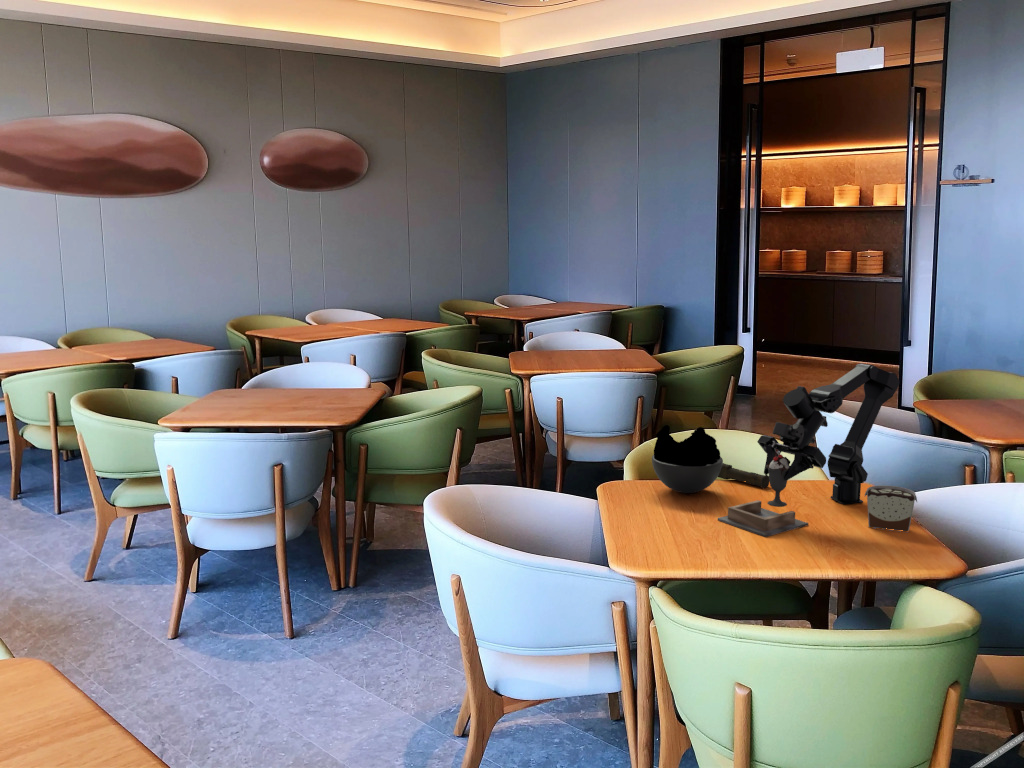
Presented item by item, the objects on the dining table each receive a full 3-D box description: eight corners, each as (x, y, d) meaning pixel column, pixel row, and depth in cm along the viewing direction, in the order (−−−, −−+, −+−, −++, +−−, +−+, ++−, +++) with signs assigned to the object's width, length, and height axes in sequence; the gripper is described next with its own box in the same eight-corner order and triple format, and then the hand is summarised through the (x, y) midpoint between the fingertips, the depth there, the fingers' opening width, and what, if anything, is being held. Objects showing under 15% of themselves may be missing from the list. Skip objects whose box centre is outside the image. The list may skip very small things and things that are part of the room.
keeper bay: (759, 509, 252) (760, 496, 251) (808, 525, 239) (808, 511, 238) (717, 520, 243) (718, 506, 243) (765, 537, 230) (765, 523, 229)
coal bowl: (736, 495, 266) (739, 430, 262) (682, 506, 255) (684, 439, 252) (689, 478, 282) (691, 417, 279) (637, 488, 272) (638, 425, 269)
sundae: (766, 507, 240) (769, 451, 238) (761, 500, 247) (764, 444, 244) (792, 508, 240) (795, 451, 237) (787, 500, 246) (789, 445, 244)
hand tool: (770, 487, 274) (771, 472, 273) (762, 490, 271) (762, 474, 270) (719, 474, 288) (719, 459, 287) (710, 476, 286) (711, 462, 285)
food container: (915, 526, 238) (918, 488, 236) (915, 533, 232) (917, 494, 231) (864, 519, 243) (866, 482, 241) (862, 526, 237) (864, 488, 236)
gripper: (763, 405, 249) (732, 451, 245) (821, 416, 233) (789, 466, 229) (782, 430, 254) (752, 475, 250) (839, 443, 239) (809, 492, 235)
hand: (774, 476), depth 241 cm, fingers closed on sundae, 6 cm apart
